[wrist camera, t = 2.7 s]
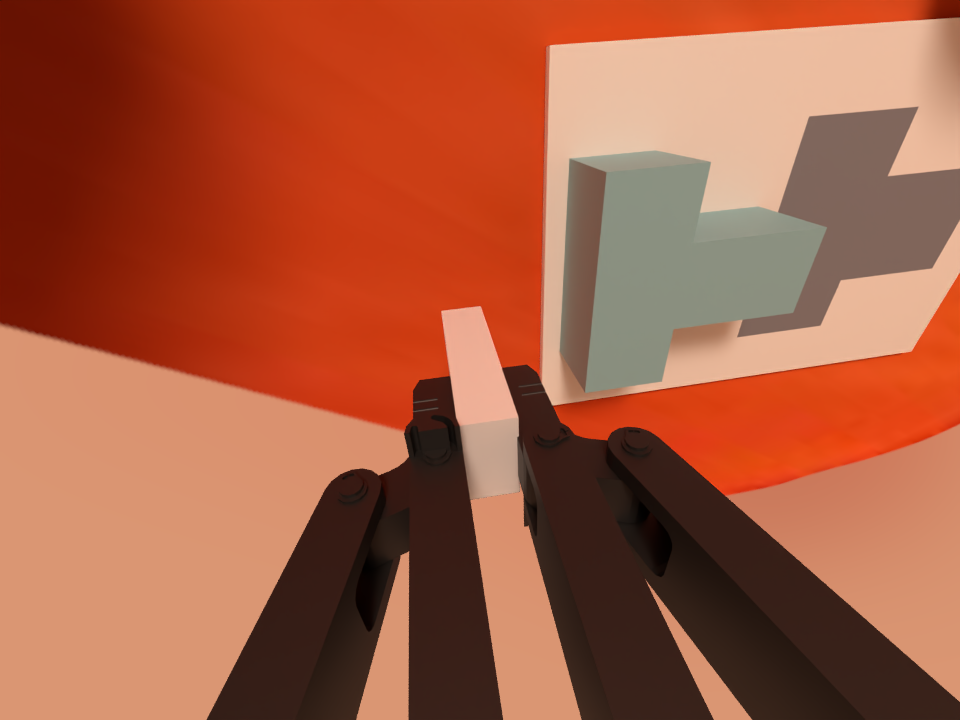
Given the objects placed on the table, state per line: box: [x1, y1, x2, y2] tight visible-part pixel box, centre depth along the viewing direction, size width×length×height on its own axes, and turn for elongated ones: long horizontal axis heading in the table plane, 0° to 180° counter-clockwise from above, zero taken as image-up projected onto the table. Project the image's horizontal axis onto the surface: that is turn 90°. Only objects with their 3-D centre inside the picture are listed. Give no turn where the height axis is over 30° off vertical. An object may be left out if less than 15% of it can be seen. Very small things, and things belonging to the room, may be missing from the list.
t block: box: [560, 150, 827, 393], centre depth 19 cm, size 10×10×4 cm
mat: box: [540, 17, 960, 406], centre depth 22 cm, size 18×26×1 cm
